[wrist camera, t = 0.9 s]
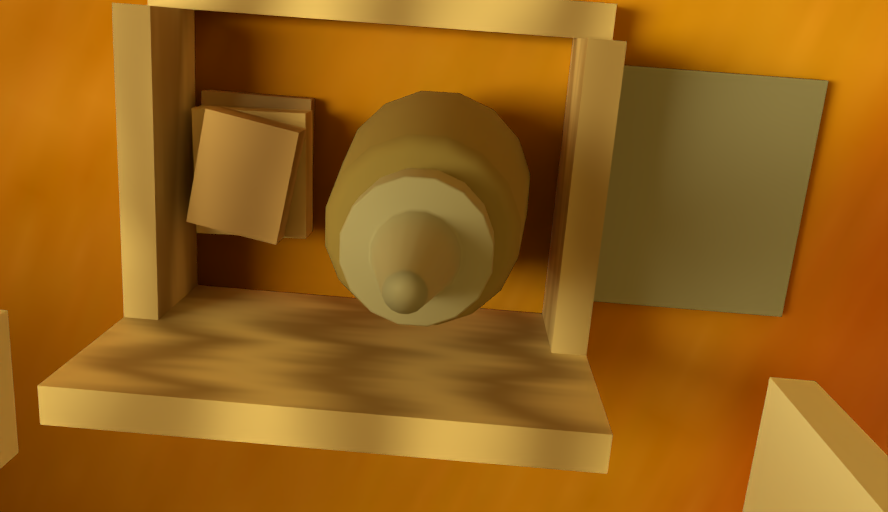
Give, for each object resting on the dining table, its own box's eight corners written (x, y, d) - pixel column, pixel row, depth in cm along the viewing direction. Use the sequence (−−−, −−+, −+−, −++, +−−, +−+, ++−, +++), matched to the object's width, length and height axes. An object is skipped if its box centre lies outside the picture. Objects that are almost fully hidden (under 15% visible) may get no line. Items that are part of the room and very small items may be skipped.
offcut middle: (207, 225, 38) (196, 232, 36) (202, 105, 36) (191, 107, 35) (312, 230, 37) (305, 238, 36) (312, 110, 36) (305, 113, 34)
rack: (168, 311, 40) (40, 424, 28) (160, -29, 35) (5, -60, 24) (569, 344, 39) (607, 473, 28) (611, 5, 35) (676, -10, 23)
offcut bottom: (212, 213, 39) (202, 219, 38) (212, 88, 37) (201, 90, 36) (314, 221, 39) (307, 228, 37) (318, 97, 37) (311, 99, 36)
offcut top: (198, 214, 36) (186, 221, 34) (217, 105, 35) (205, 108, 33) (284, 236, 36) (275, 244, 35) (306, 128, 35) (298, 132, 33)
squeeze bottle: (421, 47, 36) (366, 58, 18) (561, 156, 37) (635, 263, 19) (320, 189, 38) (184, 319, 20) (456, 288, 39) (437, 493, 21)
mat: (580, 297, 39) (582, 300, 38) (609, 64, 36) (611, 64, 35) (777, 313, 38) (781, 316, 38) (823, 80, 35) (828, 80, 35)
